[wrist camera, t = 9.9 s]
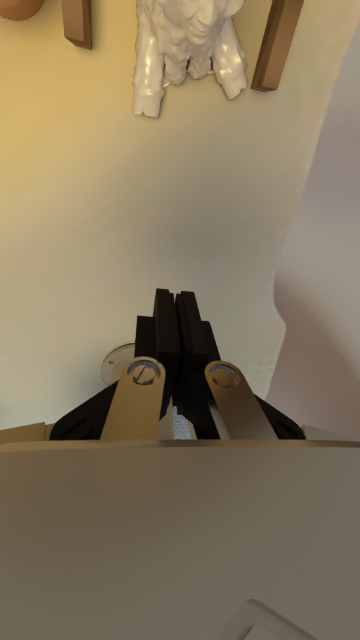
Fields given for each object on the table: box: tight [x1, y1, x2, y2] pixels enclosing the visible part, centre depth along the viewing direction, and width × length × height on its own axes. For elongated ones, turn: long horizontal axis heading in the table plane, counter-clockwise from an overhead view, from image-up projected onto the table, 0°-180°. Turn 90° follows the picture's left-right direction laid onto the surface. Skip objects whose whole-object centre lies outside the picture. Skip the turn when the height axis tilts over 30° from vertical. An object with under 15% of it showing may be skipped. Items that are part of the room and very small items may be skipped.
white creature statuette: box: [132, 0, 248, 117], centre depth 15 cm, size 10×9×12 cm
